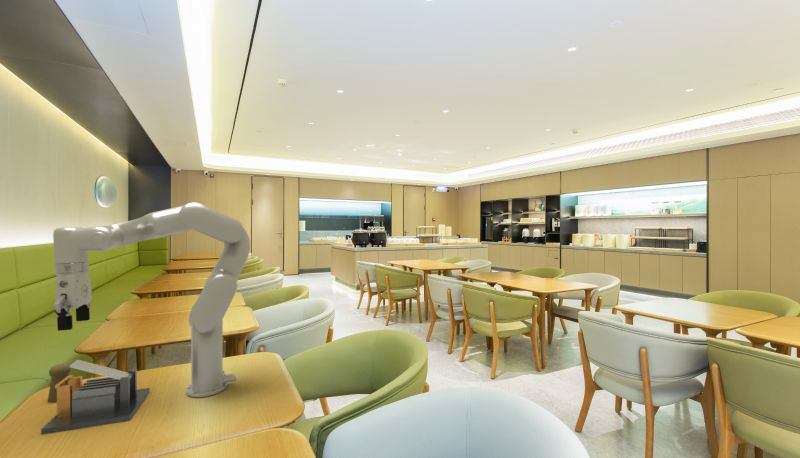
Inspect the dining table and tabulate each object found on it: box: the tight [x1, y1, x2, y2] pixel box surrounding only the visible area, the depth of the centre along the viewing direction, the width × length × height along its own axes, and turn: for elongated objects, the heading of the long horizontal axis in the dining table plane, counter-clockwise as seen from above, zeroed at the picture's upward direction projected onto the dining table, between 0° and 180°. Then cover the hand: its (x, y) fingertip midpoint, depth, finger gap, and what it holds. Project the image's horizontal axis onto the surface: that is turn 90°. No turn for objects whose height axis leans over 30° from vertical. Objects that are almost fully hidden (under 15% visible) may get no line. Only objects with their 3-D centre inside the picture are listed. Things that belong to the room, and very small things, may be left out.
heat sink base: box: [40, 368, 151, 436], centre depth 107 cm, size 20×18×11 cm
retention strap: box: [69, 359, 133, 380], centre depth 107 cm, size 16×4×1 cm, turn 111°
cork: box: [47, 362, 72, 404], centre depth 115 cm, size 6×6×11 cm
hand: (74, 325), depth 106 cm, fingers open, 9 cm apart
